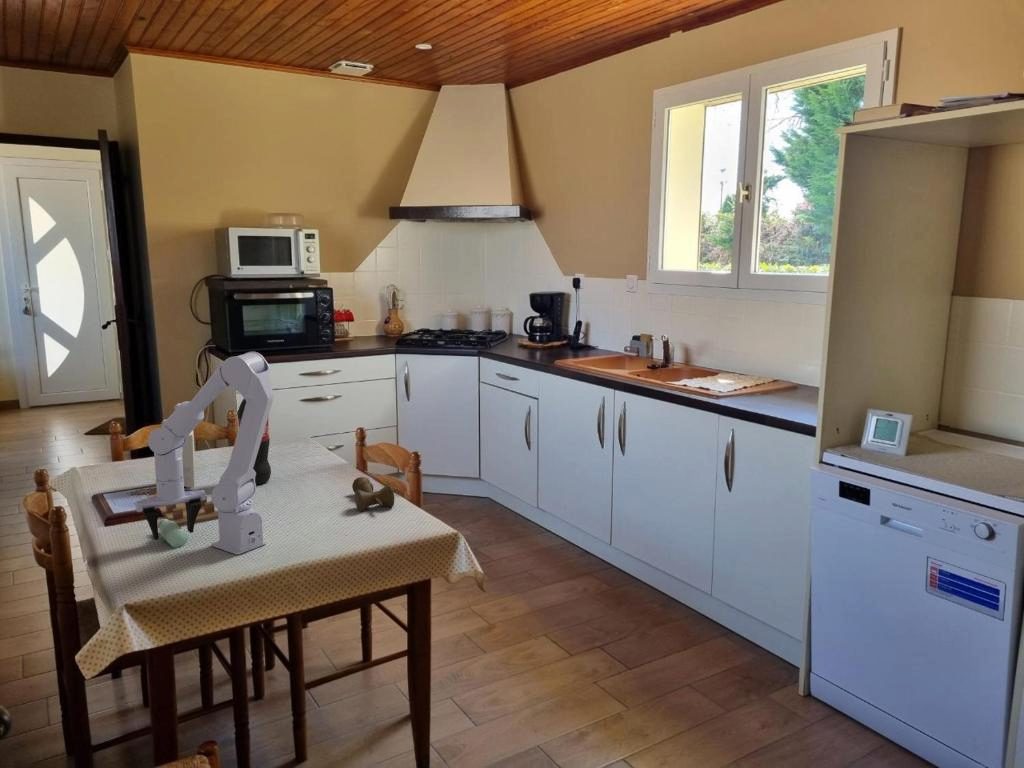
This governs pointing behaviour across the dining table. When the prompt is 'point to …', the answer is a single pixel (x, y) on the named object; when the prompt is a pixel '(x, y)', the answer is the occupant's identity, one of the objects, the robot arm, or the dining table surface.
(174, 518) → the bottle cradle
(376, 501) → the kendama
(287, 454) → the dining table surface
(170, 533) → the bottle
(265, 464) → the cola bottle
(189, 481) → the skincare box
